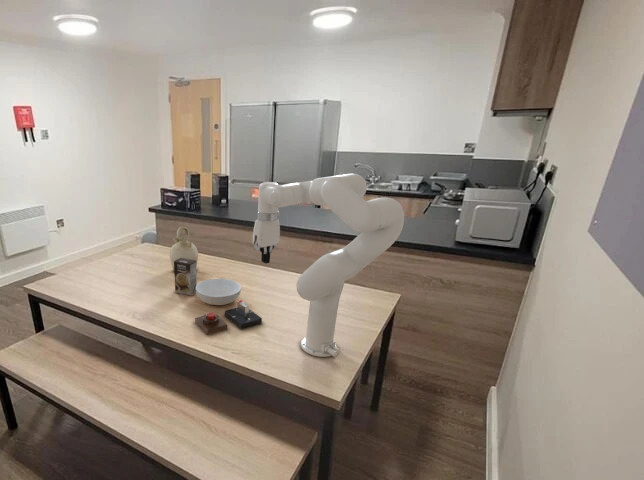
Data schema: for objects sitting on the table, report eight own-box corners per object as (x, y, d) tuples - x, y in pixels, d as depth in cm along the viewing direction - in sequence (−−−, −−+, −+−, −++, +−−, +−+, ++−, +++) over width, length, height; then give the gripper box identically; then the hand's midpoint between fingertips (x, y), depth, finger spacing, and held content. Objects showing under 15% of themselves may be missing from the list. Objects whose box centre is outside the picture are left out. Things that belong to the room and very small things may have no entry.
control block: (227, 329, 150) (227, 320, 149) (207, 334, 146) (207, 325, 145) (214, 317, 159) (214, 309, 158) (195, 322, 155) (194, 314, 154)
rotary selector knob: (248, 316, 154) (249, 305, 152) (244, 318, 153) (245, 306, 151) (241, 310, 159) (241, 299, 157) (237, 311, 158) (237, 300, 156)
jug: (166, 268, 213) (164, 225, 203) (192, 263, 218) (190, 221, 209) (176, 277, 200) (173, 231, 190) (202, 272, 206) (202, 228, 196)
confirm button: (216, 318, 151) (216, 315, 150) (208, 321, 149) (208, 317, 148) (212, 315, 154) (212, 311, 153) (204, 317, 152) (204, 313, 151)
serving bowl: (248, 296, 178) (248, 283, 175) (227, 315, 161) (227, 300, 158) (210, 287, 187) (210, 274, 185) (186, 304, 171) (186, 290, 168)
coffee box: (174, 292, 183) (172, 261, 176) (181, 287, 188) (180, 257, 181) (190, 296, 179) (189, 264, 172) (197, 291, 184) (196, 259, 178)
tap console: (261, 323, 154) (262, 317, 153) (240, 329, 150) (240, 323, 149) (244, 310, 165) (244, 305, 164) (224, 316, 160) (224, 310, 159)
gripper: (277, 212, 147) (275, 256, 155) (245, 216, 141) (244, 262, 148) (290, 216, 141) (286, 262, 148) (257, 221, 135) (255, 268, 142)
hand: (265, 262), depth 148 cm, fingers closed
